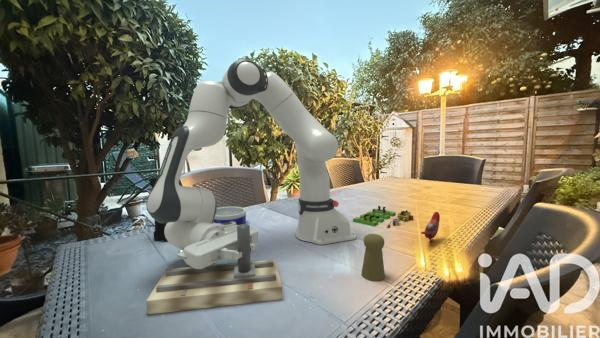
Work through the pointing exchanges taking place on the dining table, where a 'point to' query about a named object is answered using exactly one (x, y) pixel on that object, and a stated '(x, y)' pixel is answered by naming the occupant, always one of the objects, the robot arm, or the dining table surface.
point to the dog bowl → (230, 215)
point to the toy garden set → (382, 217)
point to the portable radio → (159, 227)
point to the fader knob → (244, 253)
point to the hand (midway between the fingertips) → (246, 252)
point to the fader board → (213, 287)
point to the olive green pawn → (373, 258)
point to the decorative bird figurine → (432, 227)
